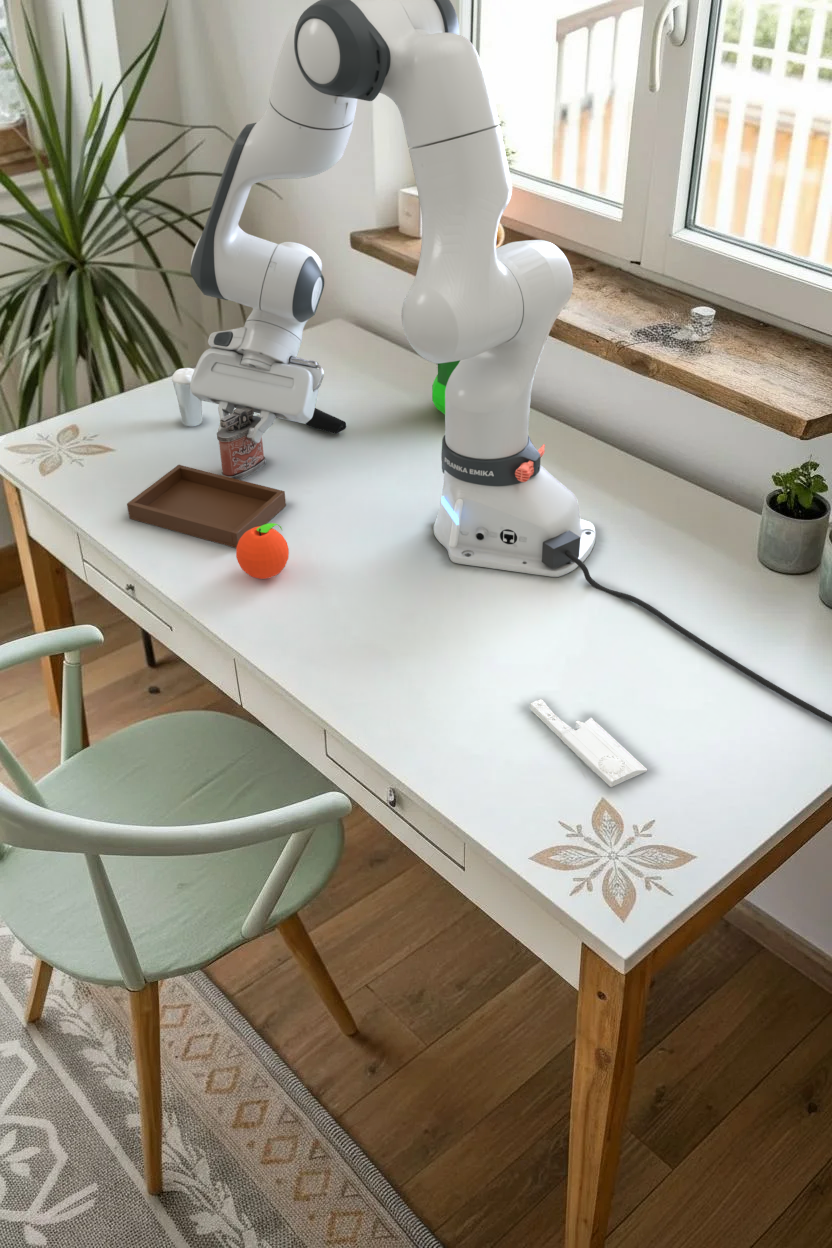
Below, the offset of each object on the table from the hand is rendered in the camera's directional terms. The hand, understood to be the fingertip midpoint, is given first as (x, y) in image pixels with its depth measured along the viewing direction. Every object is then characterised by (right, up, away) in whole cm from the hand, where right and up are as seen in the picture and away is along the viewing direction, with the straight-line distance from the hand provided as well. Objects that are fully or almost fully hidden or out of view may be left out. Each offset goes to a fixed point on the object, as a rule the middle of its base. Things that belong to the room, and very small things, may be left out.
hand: (237, 437), depth 181 cm
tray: (-3, -12, -6) cm, 13 cm away
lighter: (0, -5, +4) cm, 6 cm away
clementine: (+7, -21, -18) cm, 29 cm away
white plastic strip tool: (+45, -41, -46) cm, 76 cm away
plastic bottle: (+34, +7, +18) cm, 39 cm away
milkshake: (-9, +5, +17) cm, 20 cm away
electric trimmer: (+9, +5, +17) cm, 20 cm away
